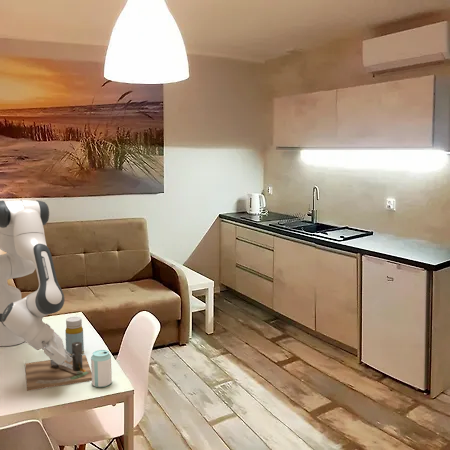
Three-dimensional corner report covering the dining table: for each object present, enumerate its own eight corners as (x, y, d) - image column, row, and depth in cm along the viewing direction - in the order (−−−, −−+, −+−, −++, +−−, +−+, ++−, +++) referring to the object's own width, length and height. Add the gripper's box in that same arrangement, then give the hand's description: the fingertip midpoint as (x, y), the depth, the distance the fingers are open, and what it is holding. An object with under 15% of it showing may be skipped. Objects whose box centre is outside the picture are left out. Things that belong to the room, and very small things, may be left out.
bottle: (78, 357, 212) (77, 322, 210) (63, 356, 214) (61, 321, 212) (86, 351, 219) (85, 317, 217) (71, 349, 221) (70, 315, 218)
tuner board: (25, 366, 204) (25, 362, 204) (85, 357, 212) (85, 354, 212) (27, 390, 184) (26, 387, 183) (93, 380, 192) (93, 376, 192)
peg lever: (47, 365, 201) (46, 337, 199) (58, 361, 205) (57, 333, 203) (79, 378, 190) (78, 348, 189) (90, 373, 194) (89, 344, 193)
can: (99, 378, 194) (98, 347, 192) (115, 381, 192) (114, 350, 190) (88, 386, 188) (86, 354, 186) (104, 389, 185) (103, 357, 183)
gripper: (50, 340, 177) (80, 363, 183) (46, 321, 196) (74, 343, 201) (36, 354, 176) (67, 377, 182) (34, 334, 195) (62, 355, 200)
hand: (70, 359), depth 192 cm, fingers closed
